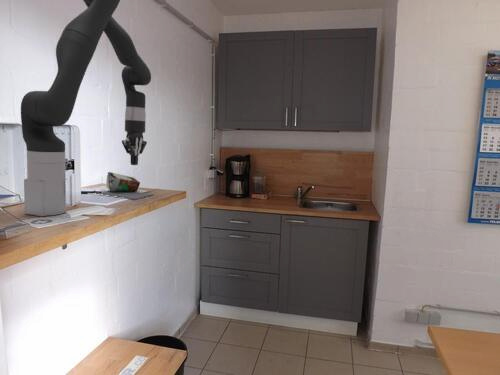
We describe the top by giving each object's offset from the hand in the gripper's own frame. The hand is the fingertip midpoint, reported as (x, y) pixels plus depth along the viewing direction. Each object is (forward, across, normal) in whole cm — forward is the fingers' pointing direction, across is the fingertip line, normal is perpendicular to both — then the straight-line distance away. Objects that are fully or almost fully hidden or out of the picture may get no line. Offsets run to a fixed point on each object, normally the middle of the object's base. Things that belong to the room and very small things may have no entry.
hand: (134, 164), depth 139 cm
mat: (+11, -6, 0) cm, 13 cm away
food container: (+9, +2, +1) cm, 10 cm away
